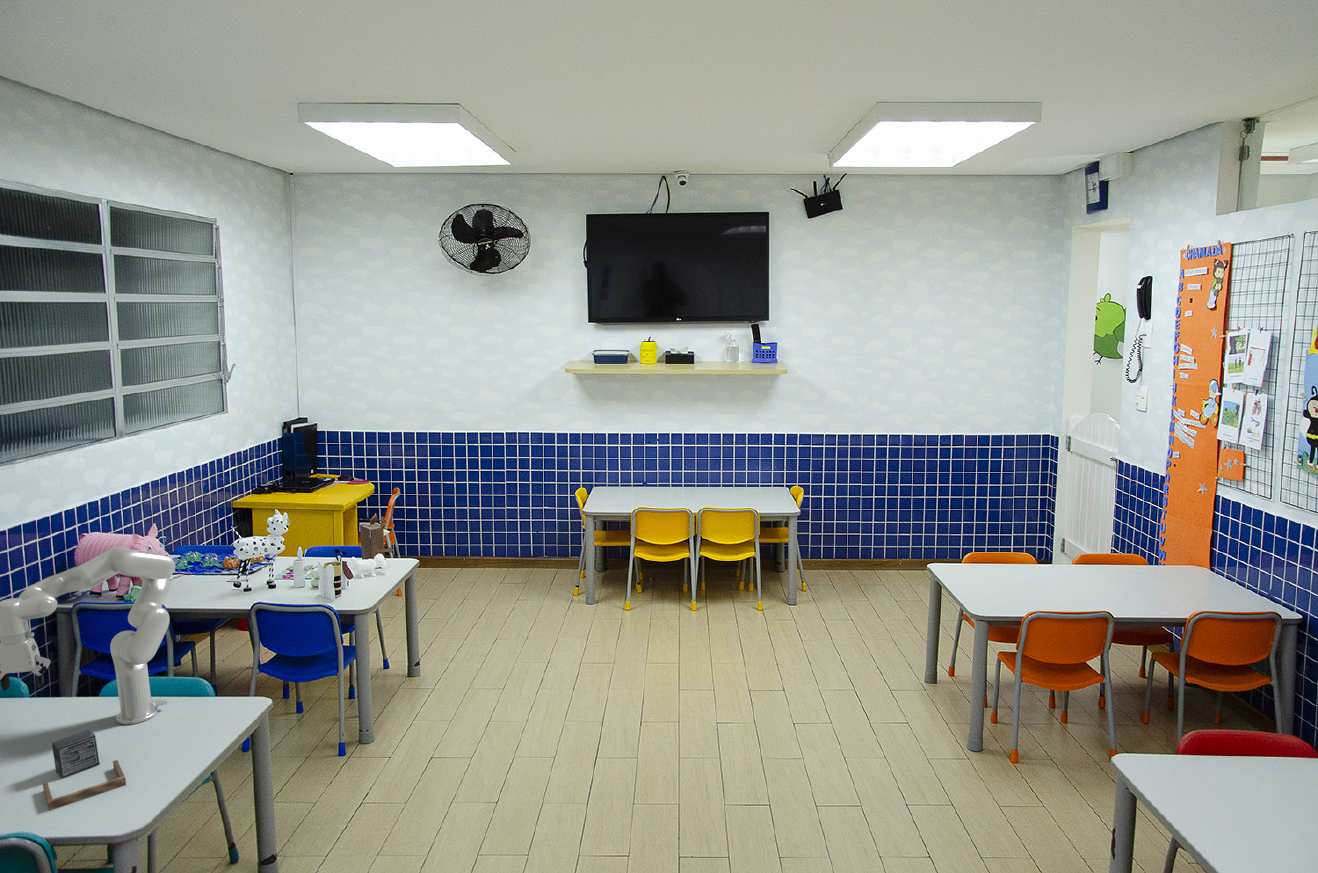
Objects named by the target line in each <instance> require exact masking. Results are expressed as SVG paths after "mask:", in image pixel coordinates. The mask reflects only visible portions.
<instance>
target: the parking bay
mask: <svg viewBox="0 0 1318 873" xmlns="http://www.w3.org/2000/svg"><path fill="white" fill-rule="evenodd" d="M112 765H113V770H114V772H115V775H116V776H117V777H116V778H114V779H113V778H112V779H111V780H107V781H105V782H101V783H99V784H95V785H92V786H88V787H86V788H83V789H80V790H77V791H73V792H70V793H68V794H65V795H61V796H58V797H55V798H53V797H52V793H51V790H50V789H51V788H50V786H49V783H48V781H47V782H44V783H42V788H43V793H44V798H45V800H46V804H47V808H48V811H52V810H55V809H58V808H61V807H64V806H68V805H70V804H73V803H76V802H79V801H81V800H82V801H84V800H85V799H88V798H92V797H94V796H98V795H99V794H103V793H107V792H109V791H112V790H114V789H118V788H121V787H124V786H127V781H126V776H125V774H124V771H123V769H122V767H121V765H120V763H119V760H118V759H115V760H114V761H112Z"/></svg>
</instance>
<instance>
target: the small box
mask: <svg viewBox="0 0 1318 873" xmlns="http://www.w3.org/2000/svg"><path fill="white" fill-rule="evenodd" d="M51 748H52V754H53V761H54V767H55V773H56V774H57V775H58V776H59V777H60V778H61V779H66V778H68V777H71V776H72V775H76V774H79V773H81V772H84V771H86V770H89V769H92V768H94V767H96V766H99V765H100V764H101V762H100V758H99V751H98V744H97V739H96V734H95V733H94V732H93V731H91V729H85V730H83V731H80V732H77V733H74V734H71V735H69V736H67V737H64V738H61V739H57V740H56V741H52V742H51Z"/></svg>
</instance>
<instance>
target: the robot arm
mask: <svg viewBox="0 0 1318 873" xmlns="http://www.w3.org/2000/svg"><path fill="white" fill-rule="evenodd" d="M175 570H176V563H175V560H174V559H173V558H172V557H170V556H168V555H165V554H162V553H160V552H157V551H154V550H144V551H142V552H141V551H136V550H133V549H131V548H127V547H124V546H115V547H112V548H109V549H108V550H106V551H104V552H102V553H100V554H98V555H97V556H95V557H93V558H92V559H90V560H88V561H85V562H84V563H82V564H80V565H78V566H76V567H74V568H71V569H68V570H65V571H62V572H60V573H56V574H54V575H50V576H48V577H46V578H43V579H42V580H40V581H38V582H36V583H35V584H33V585H31V586H29V587H28V588H26V589H24V590H23V591H22V592H21V593H20V594H19V596H18V597H15V598H14V597H13V598H6V599H3V600H1V601H0V686H1V687H0V688H2V691H3V692H4V691H7V690H8V689H10V687H11V680H10V676H9V674H15V673H25V672H31V673H33V674H35V676H34V680H35V686H36V688H37V689H38V688H40V687H41V686H43V685H44V684H45V680H46V679H45V676H44V673H45V671H47V669H48V668H49V666H50V663H51V662H52V660H51V659H49V658H46V657H44V656H41V655H40V651H39V647H38V644H37V642H36V640H35V638H34V636H35V632H31V631H30V628H29V621H28V620H33V619H39V618H44V617H48V616H50V615H52V614H53V613H54V612H55V611H56V609H57V607H58V601H57V599H56V598H57V597H59V596H61V595H62V596H63V594H68V593H73V592H81V591H88V590H91V589H93V588H95V587H97V586H98V585H101V584H102V583H104V582H105V581H106V580H110V578H112V577H114V576H116V575H117V574H121V575H125V576H129V577H133V578H141V579H142V581H141V582H142V583H141V587H140V590H139V592H138V594H137V597H136V599H135V600H134V603H133V604H132V606H131V609H130V610H129V612H128V615H127V621H128V623H129V624H130V625H131V627H134V628H135V629H136V631H133V630H123V631H120V632H119V633H117V634H115V635H114V637H113V638H112V639H111V642H110V646H109V647H110V654H111V657H112V658H111V659H112V661H113V665H114V671H115V678H116V685H117V686H116V687H117V693H118V701H119V709H120V712H119V713H118V714H117V715H116V717H115V719H116V722H117V723H118V724H120V725H134V724H139V723H142V722H145V721H147V720H150V719H151V718H153V717H155V715H156V714H157V713H158V712H159V711H158V707H160V706H165V705H167V704H168V699H167V698H164V699H162V698H161V697H160V698H156V699H153V698H152V695H151V694H152V693H151V686H150V679H149V670H148V664H147V663H148V662H149V661H151V660H152V659H153V658H154V656H155V655H156V653H157V652H158V649H159V648H160V645H161V643H162V641H163V639H164V637H165V635H166V632H167V630H168V628H169V627H170V626H169V625H170V614H169V612H168V610H166V609H165V608H164V607H163V604H164V602H165V599H166V597H167V595H168V592H169V588H170V577H171V576H172V575H173V574H174V573H175ZM41 664H43V665H42V666H41Z"/></svg>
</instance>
